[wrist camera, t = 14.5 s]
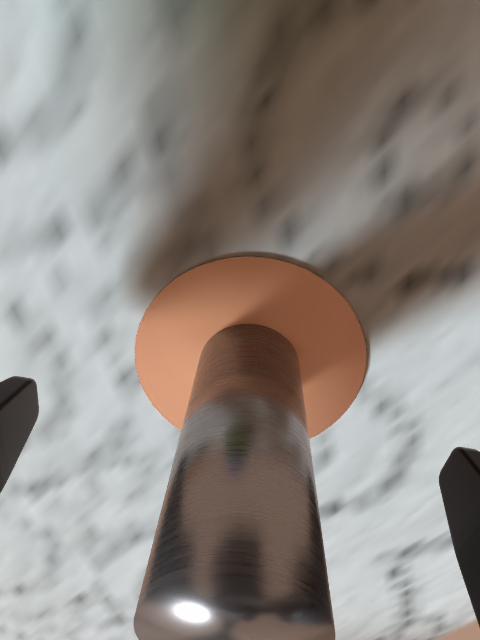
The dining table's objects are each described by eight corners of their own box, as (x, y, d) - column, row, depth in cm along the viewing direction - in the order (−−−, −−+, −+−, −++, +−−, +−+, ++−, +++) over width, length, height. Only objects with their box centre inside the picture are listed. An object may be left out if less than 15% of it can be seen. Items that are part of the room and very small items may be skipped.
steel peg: (303, 401, 11) (340, 680, 6) (209, 410, 11) (161, 682, 6) (294, 317, 10) (328, 574, 4) (189, 330, 10) (107, 581, 5)
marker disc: (329, 462, 12) (330, 464, 12) (131, 431, 12) (130, 433, 12) (399, 280, 9) (401, 282, 9) (141, 235, 9) (139, 237, 9)
